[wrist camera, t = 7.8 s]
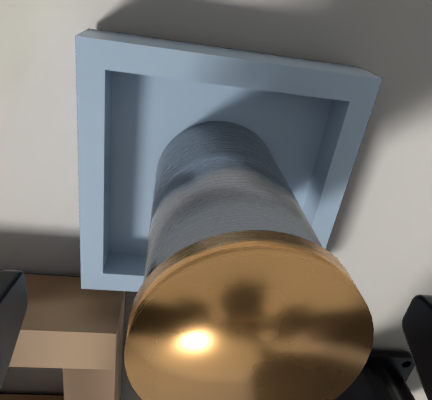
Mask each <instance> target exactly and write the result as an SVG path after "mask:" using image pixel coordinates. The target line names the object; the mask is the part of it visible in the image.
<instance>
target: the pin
mask: <svg viewBox="0 0 432 400" xmlns="http://www.w3.org/2000/svg"><path fill="white" fill-rule="evenodd" d="M373 331H374V328H373V322H372V316H371V314H370V311H369V308H368V306H367V304H366V302H365V301H364V299H363V297H362V296H361V294H360V292H359V290H358V289H357V287H356V285H355V284H354V282H353V280H352V279H351V277H350V275H349V274H348V272H347V270H346V269H345V267H344V266H343V265H342V264H341V263H340V262H339V260H338V259H337V258H336V257H335V256H333V255H332V254H331V253H330V252H328V251H327V250H326V249H324V248H323V247H322V245H321V243H320V241H319V240H318V238H317V236H316V234H315V232H314V230H313V229H312V227H311V225H310V223H309V221H308V220H307V218H306V216H305V214H304V212H303V210H302V209H301V207H300V205H299V203H298V201H297V200H296V198H295V196H294V194H293V192H292V190H291V189H290V187H289V185H288V183H287V181H286V179H285V178H284V176H283V174H282V172H281V170H280V169H279V167H278V165H277V163H276V161H275V159H274V158H273V156H272V154H271V152H270V150H269V149H268V147H267V145H266V144H265V143H264V141H263V140H262V139H261V138H260V137H259V136H258V135H257V134H255V133H254V132H253V131H251V130H250V129H248V128H246V127H244V126H242V125H239V124H236V123H232V122H227V121H208V122H203V123H199V124H196V125H193V126H191V127H189V128H187V129H185V130H184V131H182V132H181V133H179V134H178V135H177V136H175V137H174V138H173V139H172V140H171V141H170V142H169V144H168V145H167V146H166V147H165V149H164V151H163V152H162V154H161V156H160V158H159V162H158V165H157V170H156V178H155V187H154V195H153V204H152V212H151V221H150V230H149V238H148V247H147V256H146V264H145V273H144V281H143V284H142V285H141V287H140V288H139V290H138V292H137V294H136V296H135V298H134V301H133V304H132V307H131V310H130V317H129V323H128V330H127V337H126V344H125V351H124V363H125V369H126V373H127V377H128V379H129V381H130V383H131V386H132V387H133V389H134V390H135V392H136V393H137V395H138V396H139V397H140V398H141V399H142V400H335V399H336V398H337V397H338V396H339V395H341V394H342V393H343V392H344V391H345V390H346V389H347V388H348V387H349V386H350V385H351V384H352V383H353V382H354V381H355V379H356V378H357V377H358V375H359V374H360V373H361V371H362V369H363V367H364V366H365V364H366V362H367V360H368V357H369V355H370V352H371V348H372V343H373Z"/></svg>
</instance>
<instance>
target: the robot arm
mask: <svg viewBox="0 0 432 400" xmlns="http://www.w3.org/2000/svg"><path fill="white" fill-rule="evenodd" d="M27 304H28V298H27V288H26V279H25V274H24V272H22V271H20V270H1V271H0V389H1V387H2V385H3V382H4V380H5V377H6V374H7V371H8V368H9V365H10V362H11V358H12V355H13V352H14V349H15V346H16V342H17V339H18V336H19V333H20V330H21V326H22V323H23V320H24V317H25V314H26V310H27ZM402 328H403V332H404V335H405V338H406V340H407V343H408V346H409V349H410V352H411V353H410V352H401V351H376V350H371V352H370V355H369V357H368V360H367V362H366V364H365V366H364V367H363V369H362V371H361V373H360V374H359V375H358V377H357V378H356V379H355V381H354V382H353V383H352V384H351V385H350V386H349V387H348V388H347V389H346V390H345V391H344V392H343V393H342V394H341V395H339V396H338V397H337V398H336V399H335V400H415V398H414V397H413V395H412V393H411V391H410V389H409V388H408V386H407V384H406V380H407V379H408V377H409V375H410V373H411V371H412V370H413V368H414V366H415V367H416V370H417V372H418V375H419V378H420V381H421V384H422V386H423V389H424V391H425V394H426V396H427V398H428V400H432V296H431V295H416V296H415V297H414V298H413V299H412V301H411V303H410V305H409V307H408V309H407V311H406V313H405V315H404V317H403V320H402Z"/></svg>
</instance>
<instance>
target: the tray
mask: <svg viewBox="0 0 432 400" xmlns="http://www.w3.org/2000/svg"><path fill="white" fill-rule="evenodd" d="M75 48H76V91H77V133H78V176H79V219H80V262H81V289H96V290H114V291H131V292H138V290H139V288H140V287H141V285H142V284H143V281H144V273H145V264H146V256H147V247H148V238H149V230H150V221H151V212H152V204H153V195H154V187H155V178H156V170H157V165H158V162H159V158H160V156H161V154H162V152H163V151H164V149H165V147H166V146H167V145H168V144H169V142H170V141H171V140H172V139H173V138H174V137H175V136H177V135H178V134H179V133H181V132H182V131H184V130H185V129H187V128H189V127H191V126H193V125H196V124H199V123H203V122H208V121H227V122H232V123H236V124H239V125H242V126H244V127H246V128H248V129H250V130H251V131H253V132H254V133H255V134H257V135H258V136H259V137H260V138H261V139H262V140H263V141H264V143H265V144H266V145H267V147H268V149H269V150H270V152H271V154H272V156H273V158H274V159H275V161H276V163H277V165H278V167H279V169H280V170H281V172H282V174H283V176H284V178H285V179H286V181H287V183H288V185H289V187H290V189H291V190H292V192H293V194H294V196H295V198H296V200H297V201H298V203H299V205H300V207H301V209H302V210H303V212H304V214H305V216H306V218H307V220H308V221H309V223H310V225H311V227H312V229H313V230H314V232H315V234H316V236H317V238H318V240H319V241H320V243H321V245H322V247H323V248H324V249H326V246H327V243H328V240H329V237H330V234H331V231H332V228H333V225H334V222H335V219H336V216H337V213H338V210H339V207H340V204H341V201H342V199H343V196H344V193H345V190H346V187H347V184H348V181H349V178H350V175H351V172H352V169H353V166H354V163H355V160H356V157H357V154H358V151H359V148H360V145H361V142H362V139H363V136H364V133H365V130H366V127H367V124H368V121H369V118H370V115H371V112H372V109H373V106H374V103H375V100H376V98H377V95H378V92H379V89H380V86H381V83H382V80H383V79H382V78H380V77H378V76H376V75H374V74H372V73H370V72H368V71H366V70H364V69H362V68H360V67H354V66H347V65H340V64H333V63H326V62H319V61H312V60H305V59H298V58H291V57H284V56H277V55H270V54H263V53H256V52H249V51H242V50H235V49H228V48H221V47H214V46H207V45H200V44H193V43H186V42H179V41H172V40H165V39H158V38H151V37H144V36H137V35H130V34H123V33H116V32H109V31H102V30H95V29H87V30H85V31H83V32H81V33H80V34H78V35H76V36H75Z"/></svg>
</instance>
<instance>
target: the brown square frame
mask: <svg viewBox="0 0 432 400" xmlns="http://www.w3.org/2000/svg"><path fill="white" fill-rule="evenodd" d="M25 279H26V288H27V298H28V304H27V310H26V314H25V317H24V320H23V323H22V326H21V330H20V333H19V336H18V339H17V342H16V346H15V349H14V352H13V355H12V358H11V362H10V365H9V367H35V368H62V371H63V388H64V396H58V395H10V394H0V400H121V381H122V360H123V338H124V316H125V295H126V291H114V290H96V289H81V277H66V276H49V275H32V274H25Z"/></svg>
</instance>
